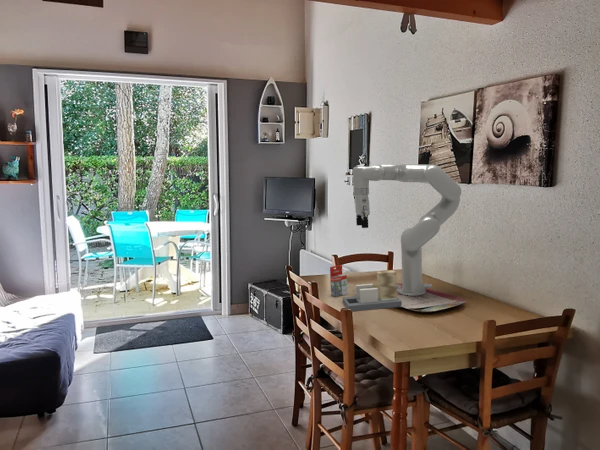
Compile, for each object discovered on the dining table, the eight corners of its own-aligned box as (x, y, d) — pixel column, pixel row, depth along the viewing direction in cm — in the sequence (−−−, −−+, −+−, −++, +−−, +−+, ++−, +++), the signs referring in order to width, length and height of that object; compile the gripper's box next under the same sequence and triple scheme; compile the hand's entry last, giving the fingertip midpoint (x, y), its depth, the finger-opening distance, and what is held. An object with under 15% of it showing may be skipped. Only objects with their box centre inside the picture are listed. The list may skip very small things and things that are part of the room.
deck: (392, 298, 227) (392, 292, 227) (401, 306, 213) (401, 300, 213) (342, 302, 224) (342, 296, 224) (349, 311, 211) (348, 305, 210)
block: (394, 295, 222) (393, 270, 220) (397, 297, 218) (396, 272, 216) (377, 296, 221) (376, 271, 219) (379, 299, 217) (379, 273, 215)
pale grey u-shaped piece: (372, 296, 223) (372, 283, 222) (378, 301, 214) (377, 288, 213) (356, 297, 222) (355, 285, 222) (360, 303, 213) (360, 290, 212)
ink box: (348, 294, 238) (346, 265, 236) (335, 297, 234) (333, 268, 232) (343, 292, 241) (342, 264, 239) (330, 295, 237) (329, 267, 235)
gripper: (373, 192, 224) (374, 228, 227) (364, 190, 241) (365, 223, 244) (358, 193, 223) (359, 229, 226) (349, 191, 240) (350, 224, 243)
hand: (362, 226), depth 235 cm, fingers open, 9 cm apart
